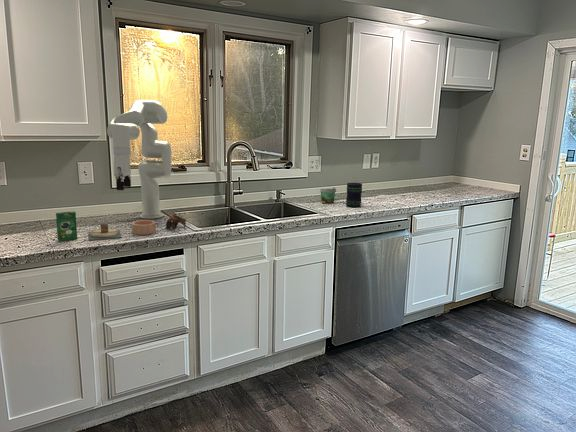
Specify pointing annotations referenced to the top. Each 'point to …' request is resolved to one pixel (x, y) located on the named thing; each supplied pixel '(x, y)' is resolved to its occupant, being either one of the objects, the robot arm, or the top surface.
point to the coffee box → (66, 226)
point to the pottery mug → (174, 222)
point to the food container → (327, 196)
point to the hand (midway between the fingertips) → (124, 188)
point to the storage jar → (354, 195)
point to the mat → (105, 238)
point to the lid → (104, 232)
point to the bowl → (143, 227)
